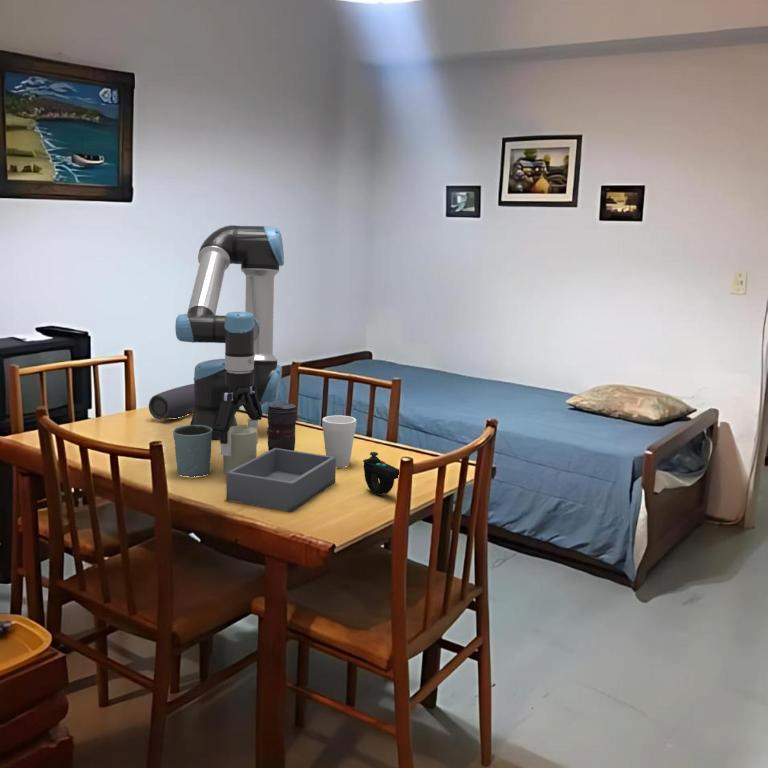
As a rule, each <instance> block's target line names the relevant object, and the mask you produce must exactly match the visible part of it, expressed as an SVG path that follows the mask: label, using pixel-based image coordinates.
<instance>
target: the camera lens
mask: <svg viewBox="0 0 768 768" xmlns="http://www.w3.org/2000/svg"><path fill="white" fill-rule="evenodd" d="M296 422H297V406H296V405H295V404H293V403H290V402H271V403H270V404H269V405H268V409H267V425H268V427H267V430H266V434H267V450H268V451H270V450H272V449H274V448H279V449H286V450H292V451H296V450H295V449H296Z"/></svg>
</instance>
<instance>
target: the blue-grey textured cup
mask: <svg viewBox="0 0 768 768" xmlns="http://www.w3.org/2000/svg"><path fill="white" fill-rule="evenodd" d="M172 434H173V442H174V443H173V444H174V452H175V461H176V462H175V463H176V472H177V475H178V474H179V475H182V476H189V477H194V476H195V477H196V476H203V475H206V476H208V475H210V473H211V459H212V442H213V441H212V428H210V427H208V426H203V425H190V424H186V425H181V426H178V427H176V428H174V429H173V431H172ZM207 474H208V475H207ZM179 475H178V476H179ZM203 477H204V476H203Z"/></svg>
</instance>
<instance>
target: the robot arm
mask: <svg viewBox="0 0 768 768" xmlns="http://www.w3.org/2000/svg"><path fill="white" fill-rule="evenodd" d="M197 261H198V263H199V265H198V268H197V274H196V277H195V282H194V285H193V287H192V288H193V289H192V293H191V297H190V301H189V305H188V308H187V313H181V314H178V315H177V316H176V320H175V326H174V327H175V336H176V339H177V340H178V341H179V342H184V343H192V344H193V343H202V344H203V343H207V344H208V343H210V344H211V343H215V344H224V345H225V347H224V348H225V349H224V351H225V353H224V358H217V359H209V360H204V361H201V362H199V363H197V364H196V365H195V367H194V371H193V373H194V374H193V375H194V376H193V381H194V382H193V384H194V396H195V410H194V411H193V413H192V417H191V421H190V424H189V425H203V426H208V427H210V428H212V440H213V439H215V440H219V441H220V442H219V443H220V455H221V456H223V455H225V456H231V431H229V429H230V427H232V426H239V424H238V422H237V418H236V414H237V411H238V410H240V408H241V407H243V409H244V410H245V412H246V414H247V416H248V418H249V419H247V426H249V427H253V428H256V429H257V442H256V445H257V444H258V443H259V442H258V440H259V438H258V436H259V435H258V433H259V431H258V430H259V428H258V427H259V425H258V421H261V420H262V419H263V410H262V407H261V404H263V403H275V401H276V400H277V399H278V397H279V393H280V388H281V382H282V376H283V366H282V365H280V364H278V359H277V357H275V355H274V354H273V353H274V352H273V350H274V301H275V300H274V299H275V298H274V297H275V296H274V295H275V294H274V293H275V276H276V275H277V274H278V273H279V272H280V267H282V266H284V265H285V251H284V243H283V238H282V233H281V230H280V229H279V228H277V227H273V226H263V225H262V226H261V225H257V226H256V225H231V224H230V225H226V226H223V227H220V228H217V230H215V231H213V232H212V233H211V234H210V235H208V236H207V238H205V240H204V241H203V242H202V244H201V245H200V248H199V250H198V255H197ZM231 264H232V265H240V270H241V271H242V272H243V274H244V275H245V305H244V306H245V309H244V311H231V312H227V313H226V314H225V315H219V314H216V313H217V308H218V304H219V298H220V295H221V291H222V286H223V281H224V277H225V271H226V270H227V269H229V266H230V265H231ZM213 441H214V440H213Z"/></svg>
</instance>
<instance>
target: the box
mask: <svg viewBox="0 0 768 768" xmlns="http://www.w3.org/2000/svg"><path fill="white" fill-rule="evenodd" d="M336 469H337V468H336V457H332V456H326V454H320V453H319V454H318V453H312V452H305V451H297V450H294V451H292V450H286V449H279V448H274V449H272V450H270V451H269V450H268V451H266V452H264V453H262V454H260V455H258V456H256V458H254V459H252V460H250V461H248V462H246V463H244V464H242V465H240V466H238V467H236V468H234V469H232V470H230V471H228V472H226V474H225V477H226V478H225V481H226V482H225V483H226V485H225V486H226V490H225V492H226V495H225V496H226V501H230V502H234V503H240V504H247V505H252V506H258V507H264V508H267V509H268V508H269V509H274V510H280V511H285V512H286V511H287V512H290V513H293V512H295V511H296V510H298V509H299V508H301V507H302V506H303V505H305V504H307V503H308V502H309V501H311V500H312V499H313V498H315V497H317V496H318V495H320V494H321V493H322V492H323V491H325V490H326V489H328V488H329V487H331V486H333V485H334V484H335V483H336ZM332 484H333V485H332Z"/></svg>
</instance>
